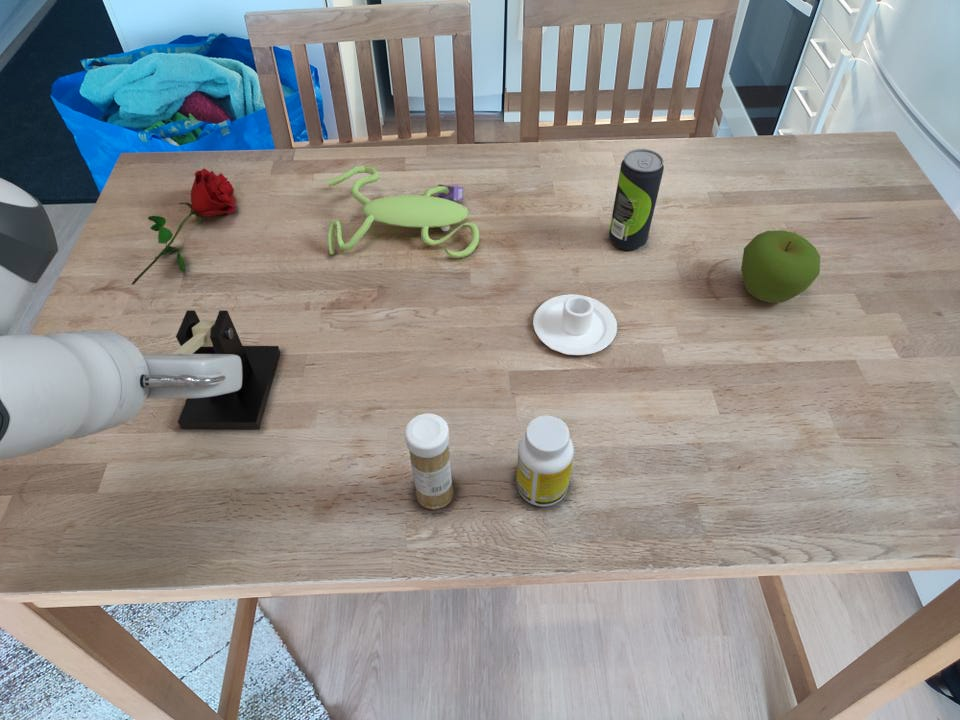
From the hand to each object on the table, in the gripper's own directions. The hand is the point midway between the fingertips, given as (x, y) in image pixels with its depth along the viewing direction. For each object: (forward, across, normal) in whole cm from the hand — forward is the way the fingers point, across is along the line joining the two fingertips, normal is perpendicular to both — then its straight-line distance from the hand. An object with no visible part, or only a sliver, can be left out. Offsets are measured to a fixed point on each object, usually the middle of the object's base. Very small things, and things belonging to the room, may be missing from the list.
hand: (168, 367), depth 71 cm
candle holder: (+26, -47, -4) cm, 53 cm away
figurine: (+42, -19, -20) cm, 51 cm away
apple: (+31, -76, -9) cm, 83 cm away
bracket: (+17, 0, +4) cm, 18 cm away
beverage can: (+40, -57, -18) cm, 72 cm away
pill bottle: (+8, -41, +15) cm, 44 cm away
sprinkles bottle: (+7, -28, +16) cm, 33 cm away
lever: (+5, 0, -1) cm, 5 cm away
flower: (+39, +14, -16) cm, 44 cm away
